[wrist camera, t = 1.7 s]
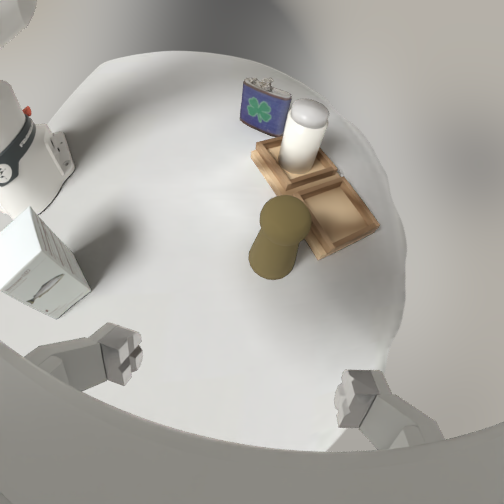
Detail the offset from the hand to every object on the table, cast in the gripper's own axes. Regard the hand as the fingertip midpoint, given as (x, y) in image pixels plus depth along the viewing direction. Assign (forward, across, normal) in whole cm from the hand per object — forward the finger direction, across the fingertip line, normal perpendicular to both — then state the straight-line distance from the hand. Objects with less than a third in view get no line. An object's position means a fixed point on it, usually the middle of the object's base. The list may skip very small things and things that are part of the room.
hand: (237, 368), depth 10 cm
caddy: (+34, -5, -7) cm, 35 cm away
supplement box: (+18, +27, +9) cm, 33 cm away
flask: (+42, +5, -18) cm, 46 cm away
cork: (+26, 0, +2) cm, 26 cm away
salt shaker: (+36, -2, -12) cm, 37 cm away
